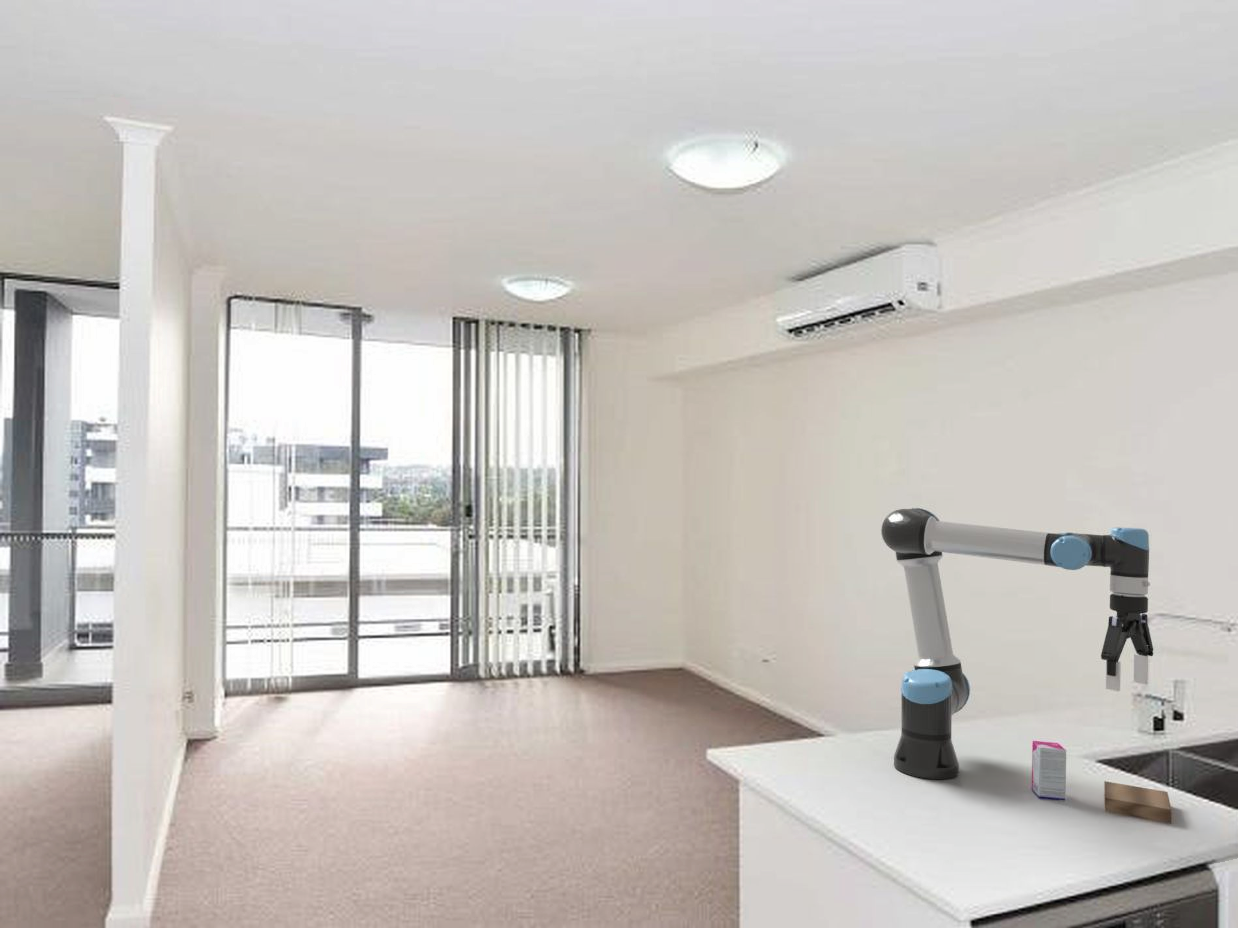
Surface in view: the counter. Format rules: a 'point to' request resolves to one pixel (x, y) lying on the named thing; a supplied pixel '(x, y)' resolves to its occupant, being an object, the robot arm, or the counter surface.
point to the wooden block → (1137, 802)
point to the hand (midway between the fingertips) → (1127, 686)
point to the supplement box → (1048, 770)
